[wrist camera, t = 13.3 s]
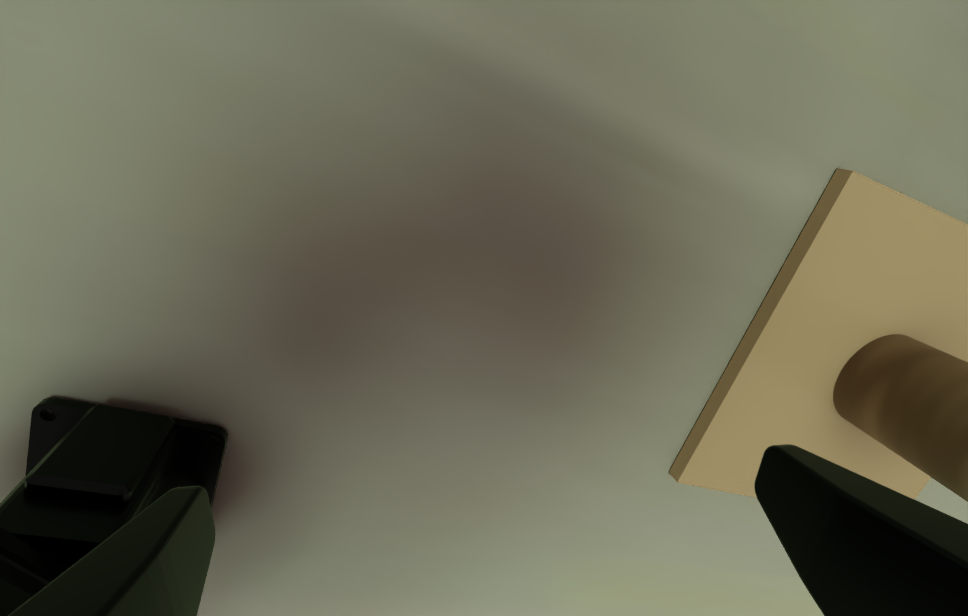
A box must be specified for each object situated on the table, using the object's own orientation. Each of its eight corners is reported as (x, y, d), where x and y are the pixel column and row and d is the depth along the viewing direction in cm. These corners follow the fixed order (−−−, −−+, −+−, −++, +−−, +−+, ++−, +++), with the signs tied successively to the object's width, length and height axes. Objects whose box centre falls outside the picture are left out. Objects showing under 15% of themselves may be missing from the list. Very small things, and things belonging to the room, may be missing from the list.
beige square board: (884, 513, 31) (896, 523, 30) (668, 471, 26) (677, 482, 26) (1060, 272, 26) (1080, 277, 26) (836, 168, 22) (852, 170, 21)
